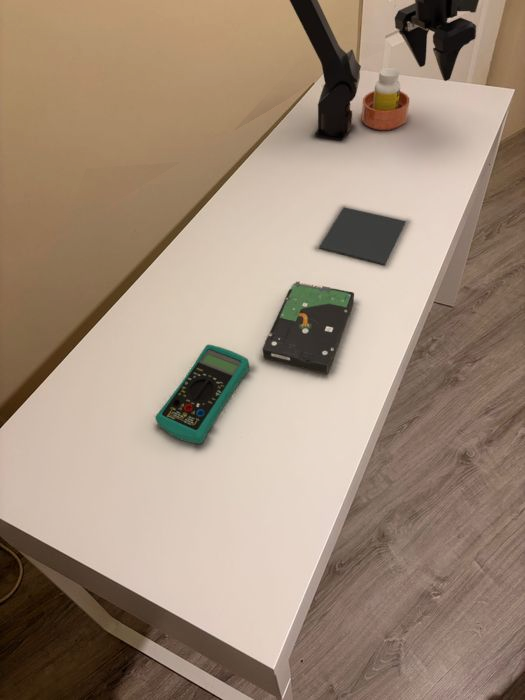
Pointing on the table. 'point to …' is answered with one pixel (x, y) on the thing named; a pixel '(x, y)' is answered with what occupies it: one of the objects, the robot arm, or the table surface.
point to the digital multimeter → (202, 394)
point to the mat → (363, 235)
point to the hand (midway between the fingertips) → (434, 72)
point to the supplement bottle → (387, 90)
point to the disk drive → (309, 327)
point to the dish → (384, 113)
